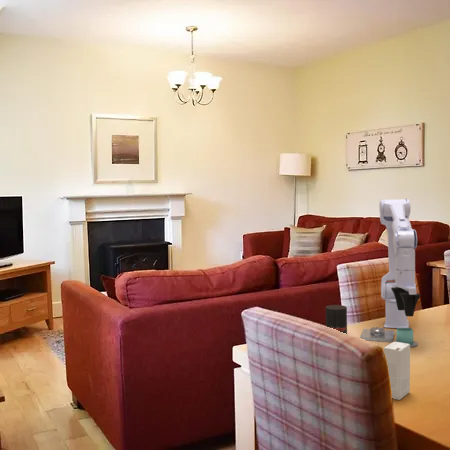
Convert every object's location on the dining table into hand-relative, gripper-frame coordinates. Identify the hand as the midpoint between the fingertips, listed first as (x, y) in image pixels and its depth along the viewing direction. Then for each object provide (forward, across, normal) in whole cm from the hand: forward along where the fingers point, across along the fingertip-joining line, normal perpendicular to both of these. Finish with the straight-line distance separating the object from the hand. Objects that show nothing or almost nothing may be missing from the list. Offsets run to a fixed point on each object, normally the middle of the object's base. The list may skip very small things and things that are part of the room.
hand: (405, 313), depth 169 cm
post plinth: (+10, -9, -6) cm, 15 cm away
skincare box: (+10, +40, -14) cm, 43 cm away
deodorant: (+10, +12, -23) cm, 28 cm away
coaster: (+10, 0, 0) cm, 10 cm away
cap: (+9, 0, 0) cm, 9 cm away
